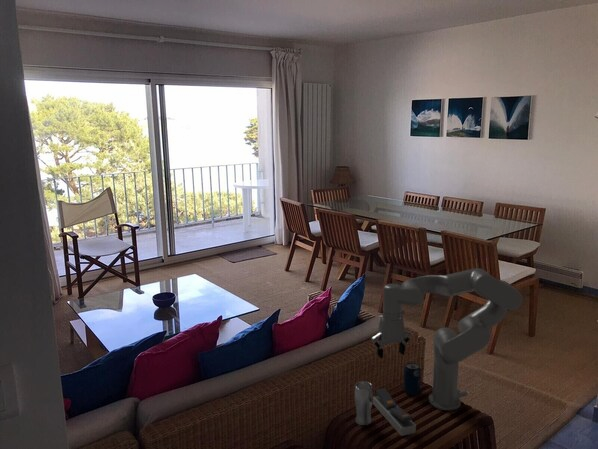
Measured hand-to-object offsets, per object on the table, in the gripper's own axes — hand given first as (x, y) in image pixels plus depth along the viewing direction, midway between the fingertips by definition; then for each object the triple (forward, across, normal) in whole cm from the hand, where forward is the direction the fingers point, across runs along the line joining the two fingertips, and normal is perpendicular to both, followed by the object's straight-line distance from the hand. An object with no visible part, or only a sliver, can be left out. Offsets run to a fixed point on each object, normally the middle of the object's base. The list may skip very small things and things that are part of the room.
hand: (391, 355), depth 194 cm
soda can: (+21, -13, -4) cm, 25 cm away
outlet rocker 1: (+16, +4, +4) cm, 17 cm away
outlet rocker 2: (+16, +4, +16) cm, 23 cm away
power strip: (+21, +4, +10) cm, 24 cm away
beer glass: (+21, +16, +9) cm, 28 cm away
